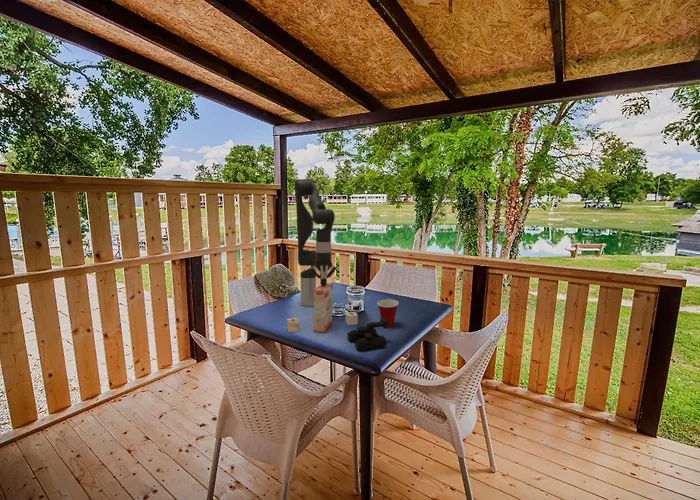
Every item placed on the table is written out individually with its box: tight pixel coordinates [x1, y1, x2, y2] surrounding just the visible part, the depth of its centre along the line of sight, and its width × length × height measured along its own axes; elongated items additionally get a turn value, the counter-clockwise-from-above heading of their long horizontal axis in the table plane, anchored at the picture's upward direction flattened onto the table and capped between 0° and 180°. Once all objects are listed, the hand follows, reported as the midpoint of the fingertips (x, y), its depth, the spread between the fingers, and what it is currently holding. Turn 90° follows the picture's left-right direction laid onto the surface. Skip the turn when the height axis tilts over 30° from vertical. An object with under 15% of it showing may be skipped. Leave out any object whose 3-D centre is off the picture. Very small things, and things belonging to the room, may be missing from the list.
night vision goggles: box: [346, 317, 388, 352], centre depth 143 cm, size 14×16×10 cm
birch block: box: [286, 317, 300, 333], centre depth 157 cm, size 5×5×5 cm
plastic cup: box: [377, 299, 399, 328], centre depth 164 cm, size 11×11×12 cm
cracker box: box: [313, 282, 334, 333], centre depth 160 cm, size 14×6×21 cm, turn 169°
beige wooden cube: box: [345, 311, 359, 326], centre depth 167 cm, size 5×5×5 cm
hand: (323, 286), depth 158 cm, fingers closed
